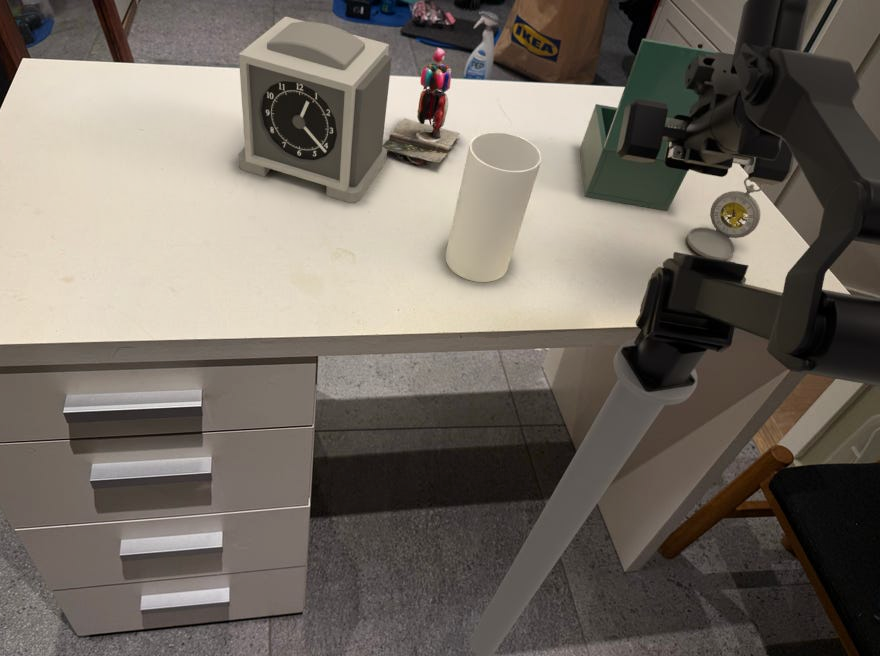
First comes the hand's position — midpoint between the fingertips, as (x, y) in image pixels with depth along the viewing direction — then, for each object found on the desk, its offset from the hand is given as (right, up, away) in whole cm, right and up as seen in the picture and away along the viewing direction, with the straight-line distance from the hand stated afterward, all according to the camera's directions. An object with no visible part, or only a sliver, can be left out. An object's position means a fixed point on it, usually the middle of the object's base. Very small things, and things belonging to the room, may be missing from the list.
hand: (675, 160), depth 82 cm
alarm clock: (-47, +4, +15) cm, 49 cm away
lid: (+2, +9, +6) cm, 11 cm away
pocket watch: (+11, -9, +13) cm, 19 cm away
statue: (-31, +8, +21) cm, 38 cm away
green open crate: (0, +4, +21) cm, 22 cm away
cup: (-24, -12, +4) cm, 27 cm away
